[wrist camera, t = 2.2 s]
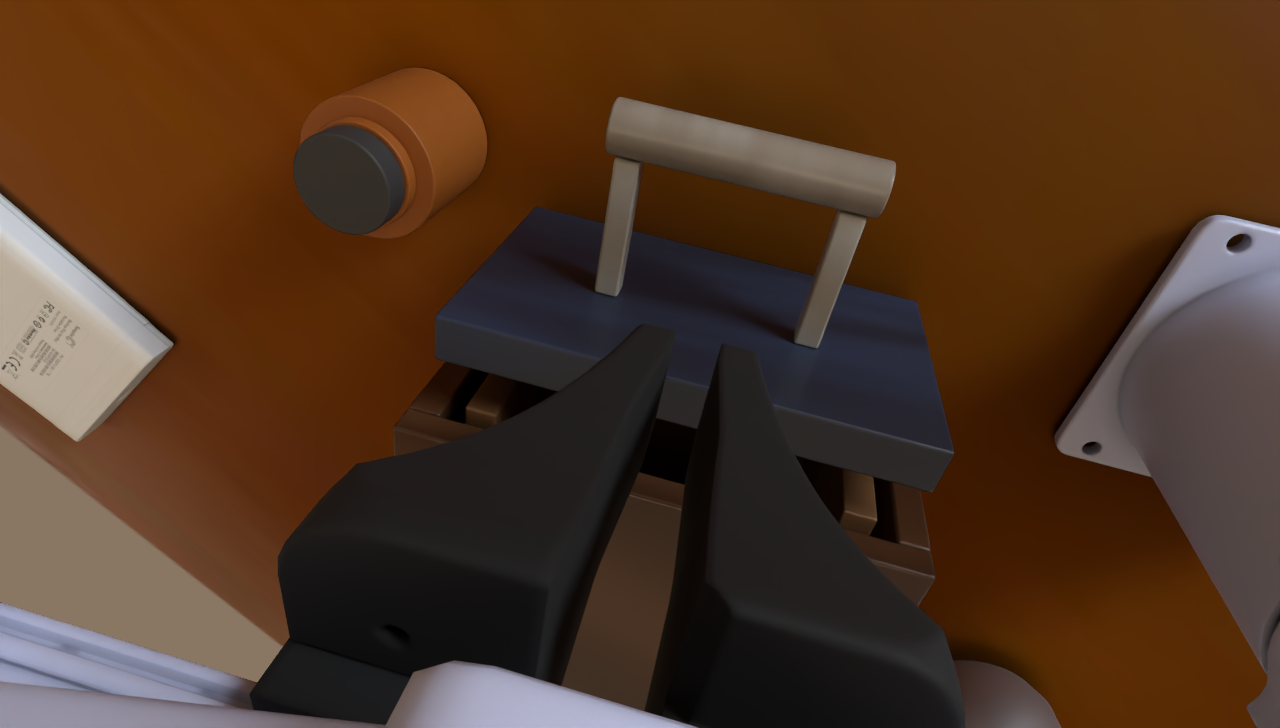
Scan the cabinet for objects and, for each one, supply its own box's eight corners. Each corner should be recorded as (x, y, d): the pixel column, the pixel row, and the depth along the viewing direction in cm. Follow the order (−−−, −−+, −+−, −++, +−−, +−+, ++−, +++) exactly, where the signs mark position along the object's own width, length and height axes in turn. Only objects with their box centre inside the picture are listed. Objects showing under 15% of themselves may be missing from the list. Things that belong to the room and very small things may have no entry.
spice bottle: (491, 83, 20) (412, 127, 16) (485, 207, 22) (414, 272, 18) (366, 53, 21) (259, 90, 17) (372, 179, 23) (279, 237, 19)
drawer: (550, 40, 18) (434, 100, 13) (990, 141, 18) (1071, 253, 12) (508, 499, 28) (432, 647, 23) (790, 579, 27) (783, 753, 22)
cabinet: (520, 267, 23) (391, 426, 16) (900, 365, 22) (938, 579, 15) (497, 542, 31) (403, 730, 24) (779, 623, 30) (767, 844, 23)
